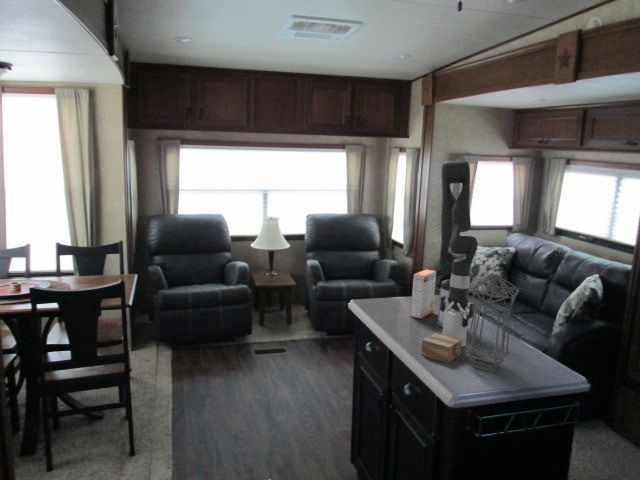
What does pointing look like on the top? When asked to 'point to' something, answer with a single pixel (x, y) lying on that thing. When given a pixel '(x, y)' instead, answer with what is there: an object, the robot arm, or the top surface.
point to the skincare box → (454, 325)
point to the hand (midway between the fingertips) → (455, 324)
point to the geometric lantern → (475, 292)
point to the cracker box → (423, 293)
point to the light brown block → (441, 347)
